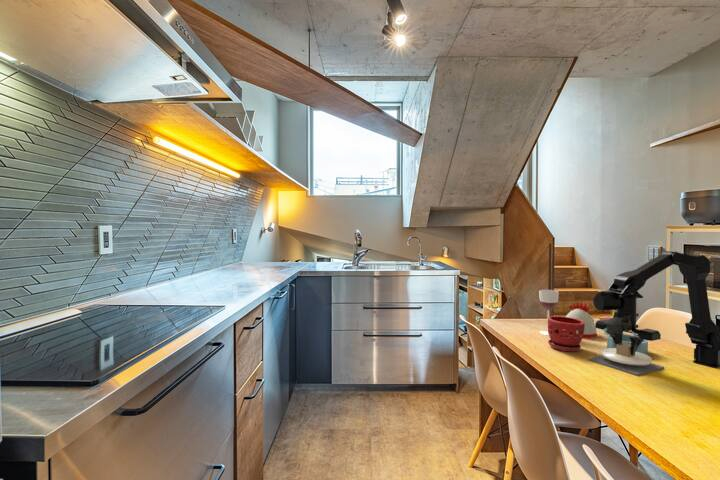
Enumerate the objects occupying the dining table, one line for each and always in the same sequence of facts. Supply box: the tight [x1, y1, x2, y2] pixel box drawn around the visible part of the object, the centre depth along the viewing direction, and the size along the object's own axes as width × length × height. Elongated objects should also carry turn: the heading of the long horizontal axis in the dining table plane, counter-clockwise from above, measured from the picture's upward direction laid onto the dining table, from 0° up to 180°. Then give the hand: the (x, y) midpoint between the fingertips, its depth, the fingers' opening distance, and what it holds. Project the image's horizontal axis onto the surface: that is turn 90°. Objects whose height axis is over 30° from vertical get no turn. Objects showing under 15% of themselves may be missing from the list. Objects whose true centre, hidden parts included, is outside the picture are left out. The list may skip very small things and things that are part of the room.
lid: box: [600, 343, 653, 365], centre depth 129 cm, size 15×15×5 cm
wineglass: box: [538, 289, 560, 336], centre depth 168 cm, size 8×9×20 cm
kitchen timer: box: [563, 301, 598, 339], centre depth 168 cm, size 14×14×15 cm
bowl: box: [606, 333, 649, 356], centre depth 144 cm, size 13×13×5 cm
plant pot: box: [547, 315, 585, 352], centre depth 147 cm, size 13×13×12 cm
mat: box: [588, 355, 665, 377], centre depth 129 cm, size 16×16×1 cm
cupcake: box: [600, 310, 616, 334], centre depth 170 cm, size 9×8×12 cm
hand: (625, 353), depth 129 cm, fingers closed on lid, 4 cm apart
